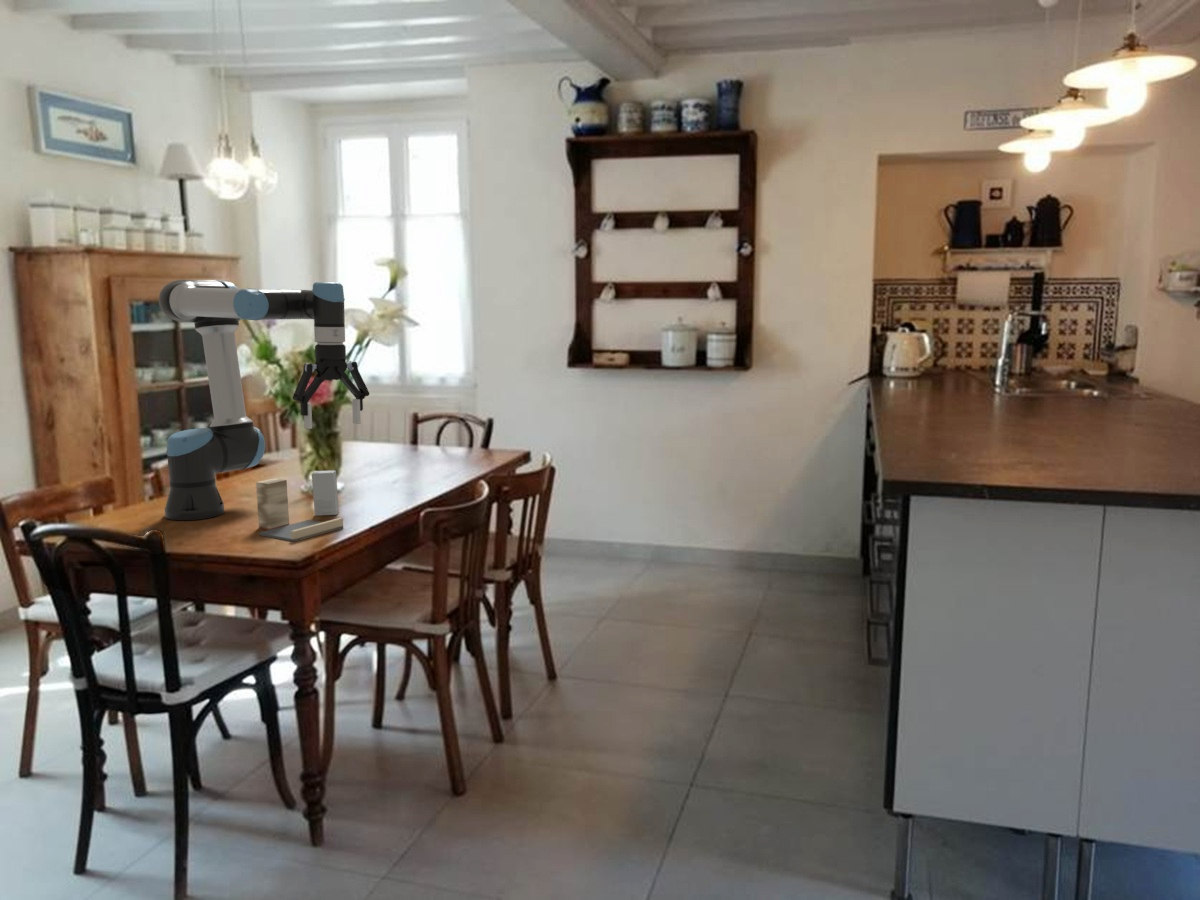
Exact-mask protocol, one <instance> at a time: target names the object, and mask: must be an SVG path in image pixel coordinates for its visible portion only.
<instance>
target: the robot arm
mask: <svg viewBox="0 0 1200 900" xmlns="http://www.w3.org/2000/svg"><path fill="white" fill-rule="evenodd" d="M344 292H345V291H344V286H343V285H342V283H340V282H323V281H322V282H318V281H317V282H314V283H313V284H312V289H299V288H298V289H294V288H292V289H271V288H269V289H268V288H267V289H265V288H261V289H260V288H239V287H238V286H237V285H236V284H234V283H233V282H231V281H228V280H227V281H226V280H219V279H176V280H173V281H171V282H169V283H167V284H165V285H164V286H163V287H162V289H161V290H160V292H159V295H158V304H159V309H161V312H163V314H164V315H165V316H167V317H168V318H169V319H171V320H173V321H176V322H180V323H194V330H195V331H196V332H197V333H199V334H200V335H201V337H202V344H203V345H202V346H203V352H204V357H205V358H204V359H205V364H206V370H207V371H206V372H207V379H208V385H209V392H210V399H211V405H212V406H211V407H212V412H213V420H212V422H211V424H210V425H209V427H197V428H194V429H193V428H190V429H184V430H181V431H177V432H175V433H172V434H170V435H169V437H168V438H167V440H166V456H167V466H168V467H167V468H168V469H167V470H168V477H169V478H168V480H169V491H168V492H169V493H168V496H167V500H166V503H165V507H164V517H165V519H168V520H173V521H195V520H203V519H204V520H206V519H210V518H214V517H218V516H221V515H223V514H225V503H224V502H223V498H222V497H221V494H220V491H219V489H218V488H217V483H216V482H217V481H216V480H217V479H216V474H221V473H226V472H232V471H238V470H246V469H248V468H252V467H256V466H257V465H258V464H259V463H260V462H261V460H262V459H263V457H264V454H265V450H266V442H265V437H264V435H263V433H262V431H261V430H260V429H259V428H257V427H255V426H254V421H253V420H252V419H251V418H250V417H248V416H247V411H246V405H245V399H244V397H245V396H244V391H243V386H242V385H243V383H242V377H241V369H240V363H239V355H238V349H237V343H236V335H235V332H236V331H237V330H238V329H239V327H240V324H239V321H241V320H245V321H246V320H247V321H267V320H313V327H314V330H313V333H314V342H315V343H316V344H315V345H314V356H315V364H312V363H310V362H309V363H307V362H305V363H304V364H303V372H302V375H301V376H300V379H299V381H298V384H297V386H296V388H295V390H294V393H293V395H292V400H293V401H296V402H298V403H300V415H301V416H303V419H304V420H303V423H304V429H308V430H310V429H313V416H312V415H313V414H312V410H313V409H312V408H313V407H312V403H311V402H309V401H311V399H312V398H313V396H314V395H315V393H316V392H317V390H318V389H319V387H320V386H321V385H322V384H323V383H324V382H325V381H333V380H335V381H340V382H342V383H343V385H344V386H345V387H346V388H347V389H348V391H349V392H350V393H351V394H352V396H353V397H354V398H352V399H351V403H352V405H351V407H352V408H351V409H352V424H355V425H361V422H362V421H361V419H362V418H361V412H362V411H363V410H364V401H363V400H364V399H365V398H366V397H368V396H370V391H369V389H368V387H367V385H366V383H365V381H364V379H363V378H362V375H361V374H360V371H359V368H358V362H357V361H352V360H350V361H348V362H346V357H347V356H346V355H347V352H346V350H347V349H346V347H347V346H346V345H345V344H344V343H345V342H346V328H345V325H346V324H345V323H346V322H345V321H346V320H345V317H346V316H345V295H344ZM346 370H348V371H349V373H350V375H351V377H352V380H353V381H354V383H353V381H352V380H351V378H349V377H350V376H349V375H348V374H346V372H345V371H346ZM314 371H316V372H317V373H316V374H315V376H314V377H313V380H312V381H311V382H310V380H311V377H312V375H313V373H314ZM309 383H310V384H309ZM355 384H356V385H355Z"/></svg>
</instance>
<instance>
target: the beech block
mask: <svg viewBox="0 0 1200 900" xmlns="http://www.w3.org/2000/svg"><path fill="white" fill-rule="evenodd" d="M287 484H288V482H287V479H282V478H270V479H265V480H260V481H256V483H255V485H256V486H255V488H256V500H257V503H256V504H257V515H258V528H259V529H262V530H266V531H268V530H271V529H275V528H279V527H283V526H287V525H290V518H289V502H288V501H289V500H288V497H289V496H288V485H287Z"/></svg>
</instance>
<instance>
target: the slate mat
mask: <svg viewBox="0 0 1200 900" xmlns="http://www.w3.org/2000/svg"><path fill="white" fill-rule="evenodd" d="M342 529H344V519H343V518H341V517H338V518H334V519H330V520H325V521H317V520H312V519H311V520H310V519H308V520H303V521H299V522H296V523H292V524H289V525H287V526H283V527H279V528H275V529H271V530H265V531H261V532H258V535H259V536H263V537H267V538H273V539H278V540H282V541H289V542H292V543H293V542H299V541H302V540H303V541H304V540H306V539H309V538H313V537H316V536H319V535H324V534H327V533H331V532H335V531H338V530H342Z"/></svg>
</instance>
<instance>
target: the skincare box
mask: <svg viewBox="0 0 1200 900" xmlns="http://www.w3.org/2000/svg"><path fill="white" fill-rule="evenodd" d="M337 482H338V479H337V471H336V470H314V471H313V472H312V473H311V484H312V495H313V497H312V498H313V507H314V508H313V509H314V516H336V515H338V514H339V513H340V509H339V506H340V505H339V491H338V483H337Z"/></svg>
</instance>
